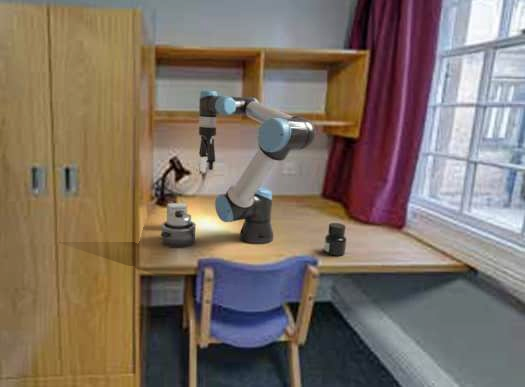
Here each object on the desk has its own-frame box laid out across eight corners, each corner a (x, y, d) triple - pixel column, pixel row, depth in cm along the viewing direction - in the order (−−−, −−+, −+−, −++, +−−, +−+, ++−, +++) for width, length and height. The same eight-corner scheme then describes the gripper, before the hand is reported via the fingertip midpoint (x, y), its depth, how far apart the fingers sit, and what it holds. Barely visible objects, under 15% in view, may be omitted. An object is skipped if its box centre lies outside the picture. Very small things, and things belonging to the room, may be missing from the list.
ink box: (168, 231, 190) (168, 206, 187) (166, 228, 194) (166, 203, 192) (187, 229, 193) (187, 205, 191) (184, 226, 198) (185, 202, 195)
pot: (179, 233, 188) (180, 216, 187) (204, 239, 182) (205, 222, 180) (150, 244, 173) (150, 226, 171) (177, 252, 166) (177, 233, 164)
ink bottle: (327, 246, 182) (329, 220, 179) (347, 250, 179) (350, 224, 176) (321, 254, 173) (323, 226, 170) (342, 258, 170) (345, 230, 167)
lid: (195, 225, 178) (196, 211, 176) (180, 231, 169) (180, 216, 168) (177, 221, 182) (177, 207, 181) (161, 226, 174) (161, 211, 172)
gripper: (193, 123, 194) (192, 168, 199) (205, 128, 171) (204, 179, 176) (209, 124, 196) (207, 168, 201) (223, 129, 174) (221, 179, 179)
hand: (206, 173), depth 189 cm, fingers open, 13 cm apart
